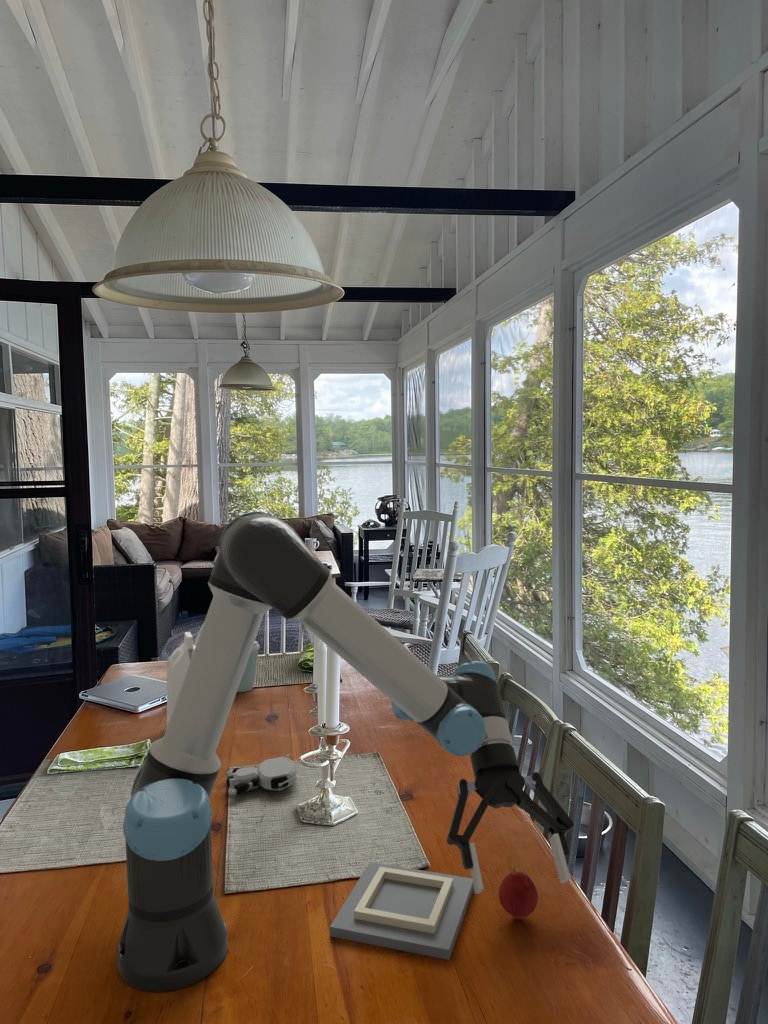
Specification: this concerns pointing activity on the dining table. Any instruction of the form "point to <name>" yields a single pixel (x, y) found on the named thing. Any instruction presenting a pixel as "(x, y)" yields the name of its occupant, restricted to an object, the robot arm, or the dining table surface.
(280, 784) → the robot toy
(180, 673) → the milk
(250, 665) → the disposable coffee cup
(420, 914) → the plate
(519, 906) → the onion
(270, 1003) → the dining table surface
